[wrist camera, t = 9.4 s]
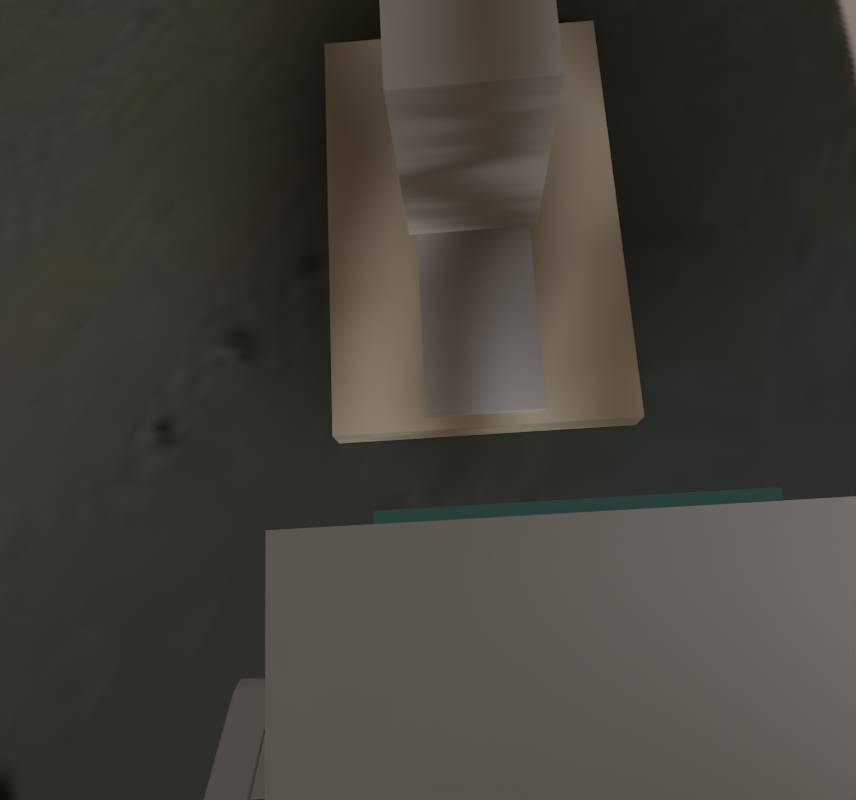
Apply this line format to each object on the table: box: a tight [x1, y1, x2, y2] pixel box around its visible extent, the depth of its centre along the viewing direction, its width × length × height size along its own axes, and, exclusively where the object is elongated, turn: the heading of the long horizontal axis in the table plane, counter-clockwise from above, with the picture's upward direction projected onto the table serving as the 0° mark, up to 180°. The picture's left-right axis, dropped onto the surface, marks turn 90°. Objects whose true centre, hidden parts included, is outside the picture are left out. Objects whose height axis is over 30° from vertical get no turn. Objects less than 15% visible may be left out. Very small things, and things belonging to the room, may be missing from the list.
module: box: [265, 487, 856, 800], centre depth 10 cm, size 5×5×10 cm
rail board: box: [325, 0, 644, 443], centre depth 26 cm, size 12×18×11 cm, turn 3°
